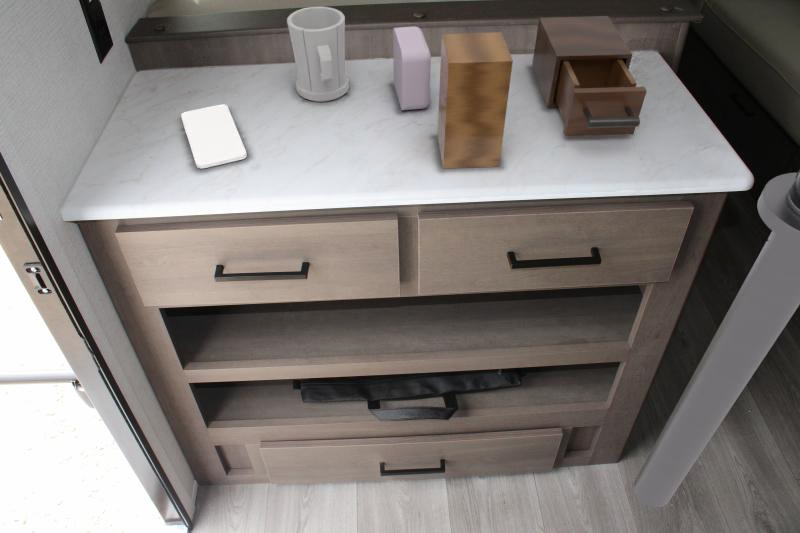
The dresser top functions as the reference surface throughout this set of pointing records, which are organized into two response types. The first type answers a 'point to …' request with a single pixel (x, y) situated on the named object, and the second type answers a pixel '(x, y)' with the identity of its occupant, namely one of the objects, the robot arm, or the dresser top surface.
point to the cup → (319, 52)
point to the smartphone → (213, 136)
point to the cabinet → (573, 47)
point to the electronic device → (411, 68)
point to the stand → (473, 99)
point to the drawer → (598, 97)
